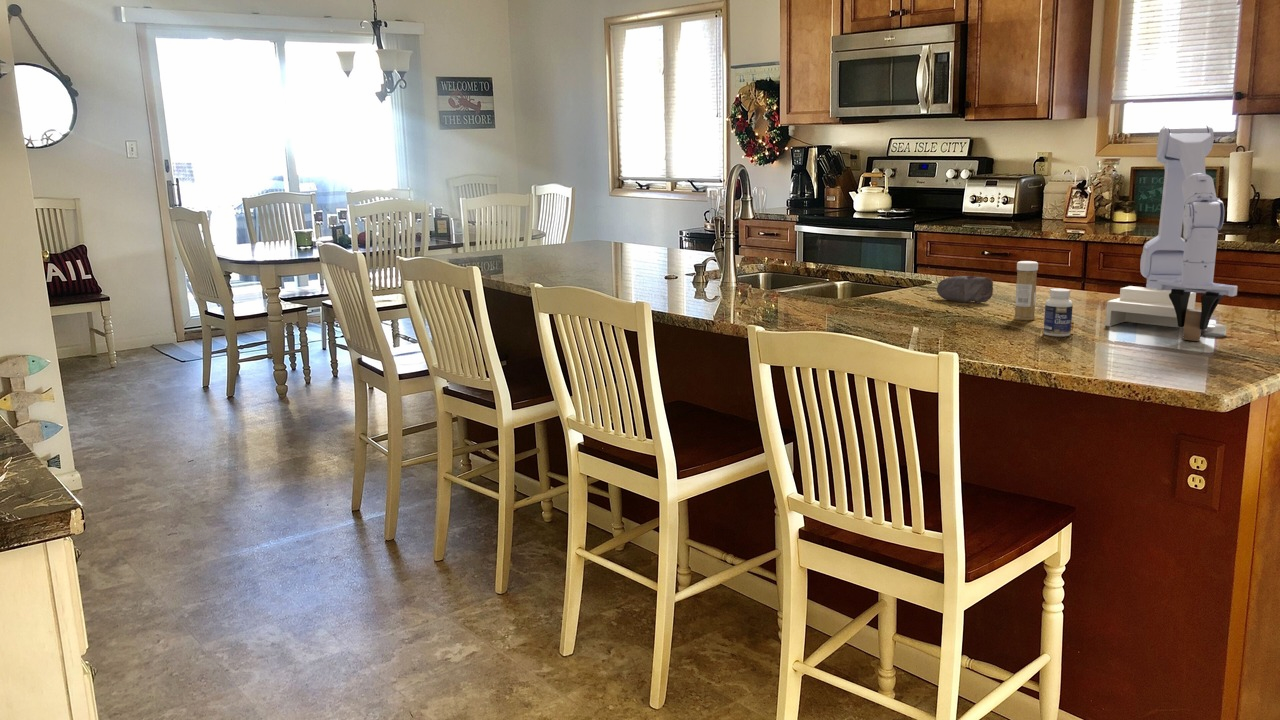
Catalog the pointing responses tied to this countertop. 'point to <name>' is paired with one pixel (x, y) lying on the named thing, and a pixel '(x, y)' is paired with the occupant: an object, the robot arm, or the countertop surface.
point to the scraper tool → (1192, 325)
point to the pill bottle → (1058, 313)
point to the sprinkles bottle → (1026, 290)
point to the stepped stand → (1144, 307)
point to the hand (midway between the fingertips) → (1192, 327)
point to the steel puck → (1214, 330)
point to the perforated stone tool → (966, 289)
